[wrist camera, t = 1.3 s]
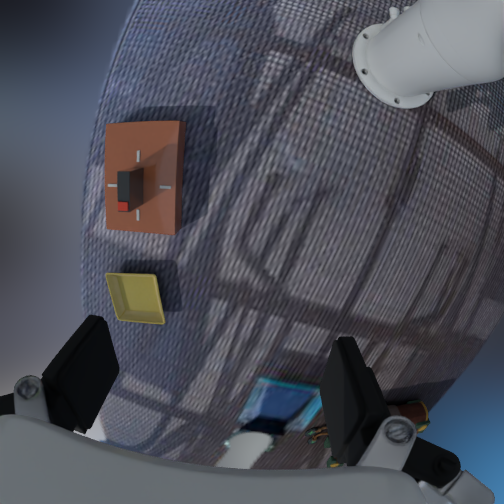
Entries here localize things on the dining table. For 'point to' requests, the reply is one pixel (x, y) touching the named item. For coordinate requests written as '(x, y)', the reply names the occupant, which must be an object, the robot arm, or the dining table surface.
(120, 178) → the black block red end
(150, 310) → the yellow square tray
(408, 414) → the book
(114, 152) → the panel
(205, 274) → the dining table surface
